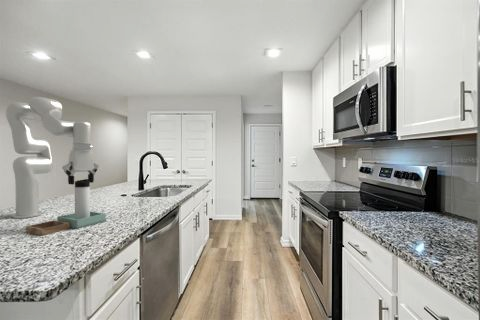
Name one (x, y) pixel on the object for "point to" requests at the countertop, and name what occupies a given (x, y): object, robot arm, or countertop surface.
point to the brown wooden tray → (53, 227)
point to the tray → (84, 222)
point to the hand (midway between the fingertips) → (81, 183)
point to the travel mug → (82, 199)
